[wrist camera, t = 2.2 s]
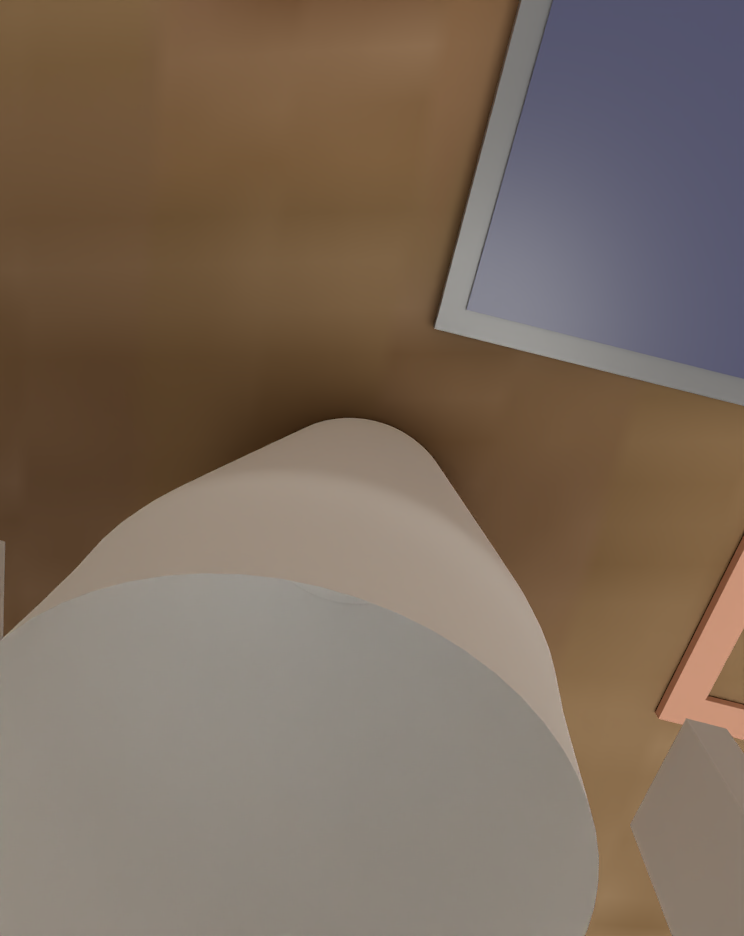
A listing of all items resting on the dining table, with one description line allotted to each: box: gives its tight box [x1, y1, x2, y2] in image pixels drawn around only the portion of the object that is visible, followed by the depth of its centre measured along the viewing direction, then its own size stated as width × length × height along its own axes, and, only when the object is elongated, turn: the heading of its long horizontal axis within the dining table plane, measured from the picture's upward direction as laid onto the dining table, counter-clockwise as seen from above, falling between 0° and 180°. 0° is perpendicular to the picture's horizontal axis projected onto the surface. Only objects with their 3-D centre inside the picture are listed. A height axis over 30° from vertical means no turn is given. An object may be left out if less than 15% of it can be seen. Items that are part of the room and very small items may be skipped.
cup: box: [0, 418, 599, 936], centre depth 13 cm, size 9×9×12 cm
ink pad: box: [433, 0, 744, 406], centre depth 14 cm, size 11×11×1 cm
